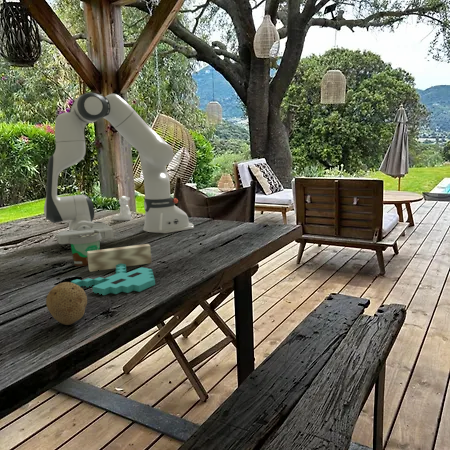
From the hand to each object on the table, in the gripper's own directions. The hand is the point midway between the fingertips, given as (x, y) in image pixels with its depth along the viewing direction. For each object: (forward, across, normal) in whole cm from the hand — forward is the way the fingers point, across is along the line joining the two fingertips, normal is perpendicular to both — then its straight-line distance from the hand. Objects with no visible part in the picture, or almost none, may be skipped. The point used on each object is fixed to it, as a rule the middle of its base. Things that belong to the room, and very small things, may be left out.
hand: (88, 239), depth 166 cm
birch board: (+22, +7, +5) cm, 24 cm away
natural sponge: (+61, -14, +5) cm, 63 cm away
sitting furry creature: (-55, +25, +5) cm, 61 cm away
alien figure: (+38, +3, +6) cm, 39 cm away
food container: (+14, -2, +5) cm, 15 cm away
